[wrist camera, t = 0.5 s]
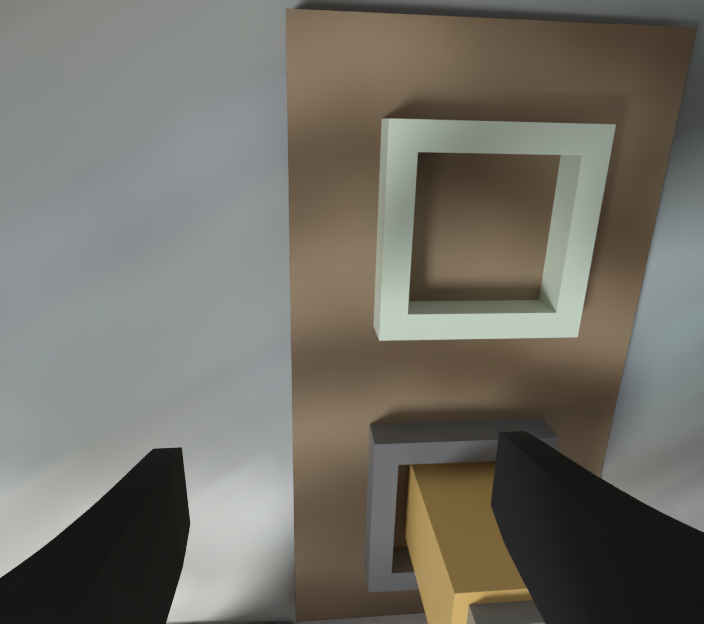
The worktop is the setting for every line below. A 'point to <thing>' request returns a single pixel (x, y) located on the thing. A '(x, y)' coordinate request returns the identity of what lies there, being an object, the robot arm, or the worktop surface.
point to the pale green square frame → (563, 242)
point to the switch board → (453, 248)
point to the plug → (462, 548)
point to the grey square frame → (421, 448)
